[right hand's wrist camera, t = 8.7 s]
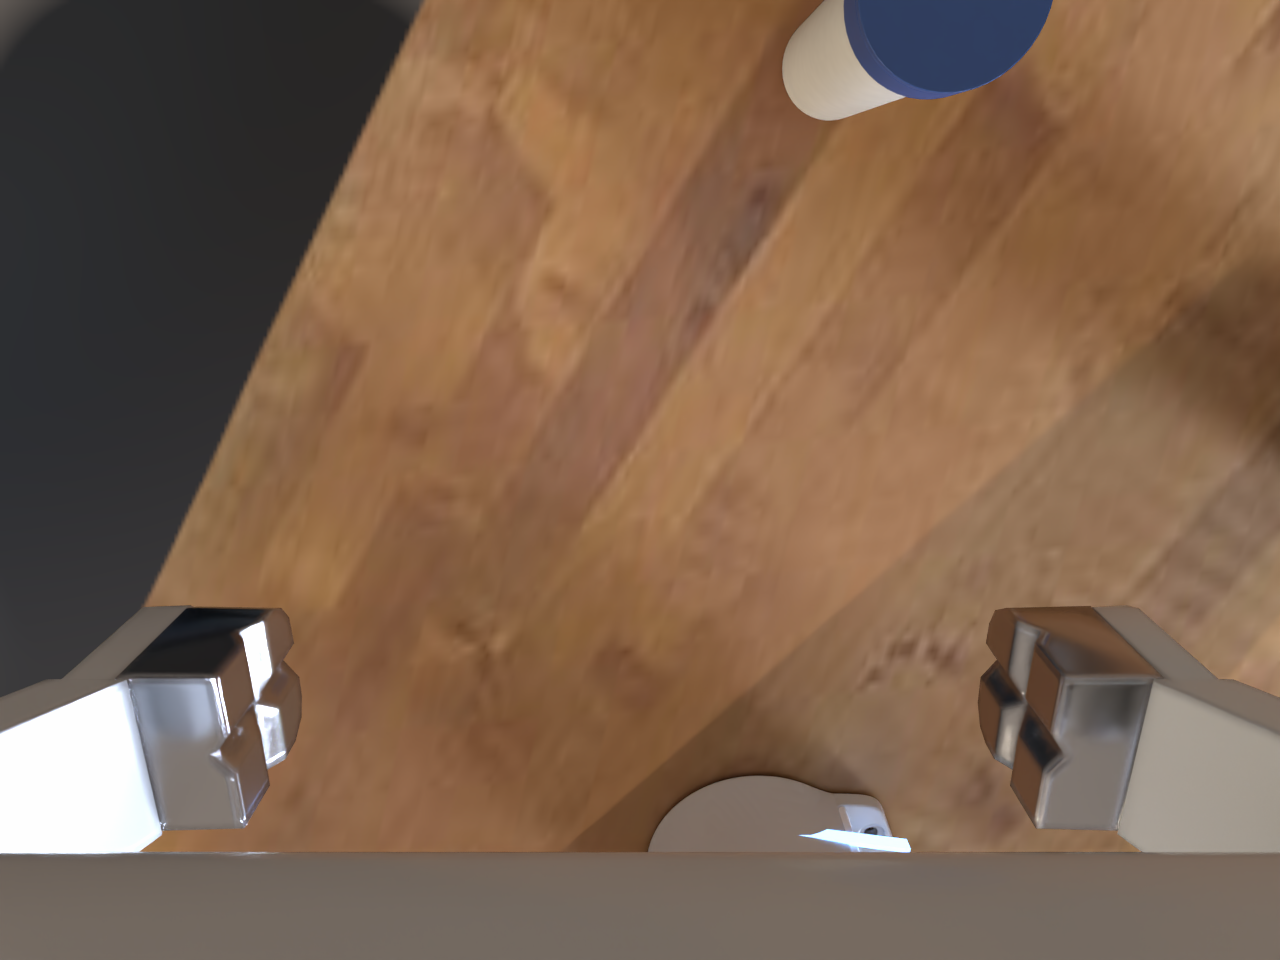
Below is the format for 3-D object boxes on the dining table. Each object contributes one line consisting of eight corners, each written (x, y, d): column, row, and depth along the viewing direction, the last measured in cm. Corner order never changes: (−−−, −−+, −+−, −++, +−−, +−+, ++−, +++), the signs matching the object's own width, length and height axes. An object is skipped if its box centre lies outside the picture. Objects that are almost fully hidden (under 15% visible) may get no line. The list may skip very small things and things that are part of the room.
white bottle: (877, 0, 42) (1031, -125, 25) (888, 109, 44) (1040, 61, 27) (775, 22, 43) (859, -87, 26) (789, 129, 44) (877, 94, 27)
